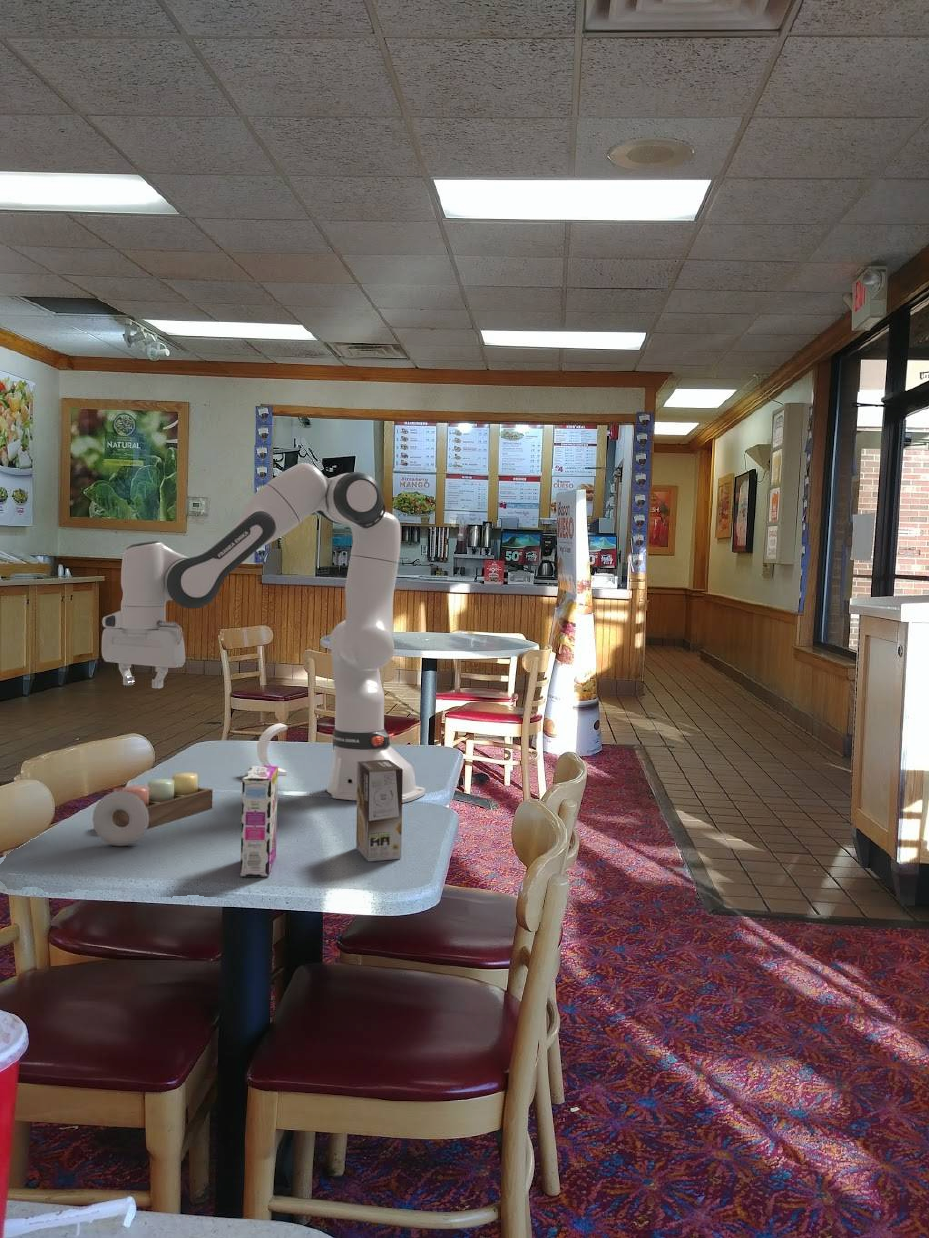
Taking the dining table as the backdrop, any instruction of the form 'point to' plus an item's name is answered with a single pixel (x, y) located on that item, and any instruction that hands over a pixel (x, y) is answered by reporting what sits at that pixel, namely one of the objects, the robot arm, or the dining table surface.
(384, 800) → the coffee box
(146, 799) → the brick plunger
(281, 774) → the headphone stand
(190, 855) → the dining table surface
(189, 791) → the yellow short cylinder
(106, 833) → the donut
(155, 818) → the wooden compartment tray
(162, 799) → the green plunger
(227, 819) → the dining table surface
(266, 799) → the candy bar box
